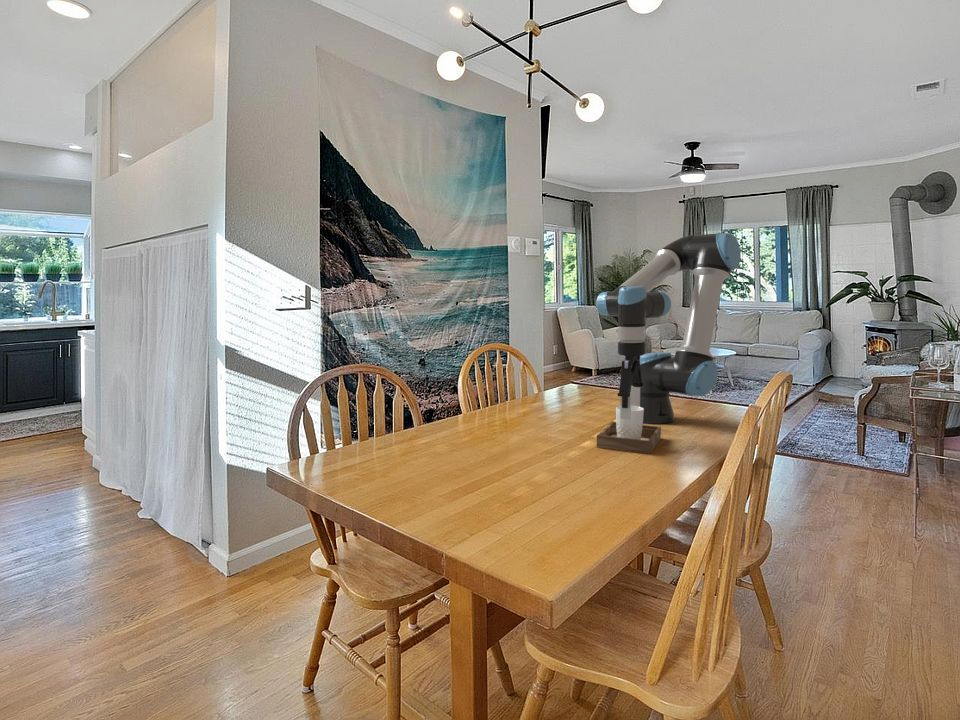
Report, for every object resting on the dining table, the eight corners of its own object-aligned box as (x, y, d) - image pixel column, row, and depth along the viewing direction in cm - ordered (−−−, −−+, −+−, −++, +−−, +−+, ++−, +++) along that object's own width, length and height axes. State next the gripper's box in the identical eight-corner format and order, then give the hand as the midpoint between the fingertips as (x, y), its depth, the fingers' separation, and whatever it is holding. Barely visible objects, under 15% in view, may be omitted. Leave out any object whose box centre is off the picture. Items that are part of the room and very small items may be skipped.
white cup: (643, 446, 161) (644, 411, 159) (615, 444, 162) (616, 410, 161) (642, 438, 168) (643, 405, 167) (614, 437, 170) (615, 404, 169)
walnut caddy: (611, 432, 178) (611, 421, 178) (660, 438, 172) (661, 426, 171) (596, 447, 162) (596, 435, 162) (650, 454, 156) (650, 441, 155)
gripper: (627, 335, 174) (626, 403, 178) (607, 345, 152) (607, 422, 156) (652, 336, 171) (651, 405, 174) (636, 346, 149) (635, 425, 152)
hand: (630, 413), depth 165 cm, fingers open, 13 cm apart
